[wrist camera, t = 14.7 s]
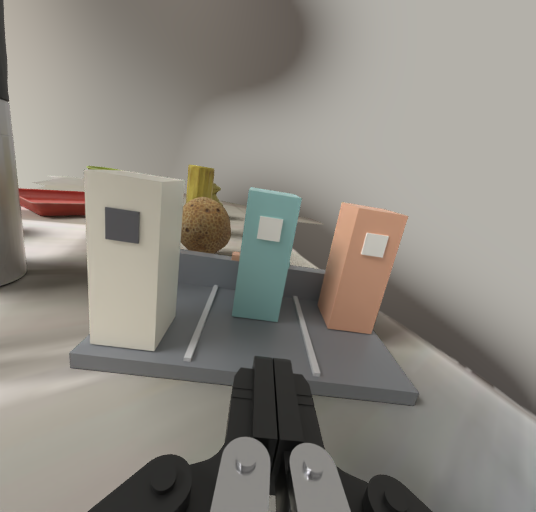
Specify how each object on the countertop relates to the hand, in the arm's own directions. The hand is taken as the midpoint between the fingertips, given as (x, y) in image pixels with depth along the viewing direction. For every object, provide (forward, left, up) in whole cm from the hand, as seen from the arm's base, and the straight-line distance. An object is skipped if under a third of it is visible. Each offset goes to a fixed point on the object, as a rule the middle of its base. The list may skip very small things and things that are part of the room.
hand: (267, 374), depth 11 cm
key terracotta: (-2, +19, -6) cm, 20 cm away
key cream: (-13, +3, -6) cm, 15 cm away
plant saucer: (-68, +19, -7) cm, 71 cm away
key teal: (-9, +13, -6) cm, 17 cm away
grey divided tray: (-8, +11, -7) cm, 16 cm away
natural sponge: (-27, +22, -7) cm, 36 cm away
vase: (-40, +33, -7) cm, 52 cm away
